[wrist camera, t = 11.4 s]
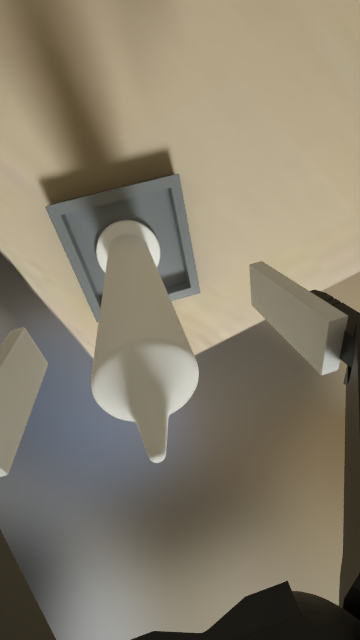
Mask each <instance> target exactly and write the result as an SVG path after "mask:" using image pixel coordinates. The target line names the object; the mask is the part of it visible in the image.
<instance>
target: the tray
mask: <svg viewBox="0 0 360 640" xmlns="http://www.w3.org/2000/svg"><path fill="white" fill-rule="evenodd" d="M45 208H46V210H47V212H48V214H49V217H50V219H51V221H52V223H53V225H54V228H55V230H56V232H57V234H58V237H59V239H60V241H61V243H62V246H63V248H64V250H65V252H66V254H67V257H68V259H69V261H70V263H71V266H72V268H73V270H74V272H75V275H76V277H77V279H78V281H79V283H80V286H81V288H82V290H83V292H84V295H85V297H86V299H87V301H88V304H89V306H90V308H91V310H92V312H93V315H94V317H95V319H96V321H97V322H99V317H100V309H101V302H102V295H103V287H104V280H105V272H104V271H103V270H102V268H101V267H100V265H99V262H98V260H97V255H96V246H97V242H98V239H99V236H100V235H101V233H102V232H103V230H104V229H105V228H106V227H108V226H109V225H110V224H112V223H114V222H117V221H121V220H133V221H137V222H140V223H142V224H143V225H145V226H147V227H148V228H149V229H150V230H151V231H152V232H153V233H154V235H155V236H156V238H157V240H158V243H159V246H160V261H159V264H158V266H157V269H158V272H159V274H160V276H161V279H162V281H163V284H164V286H165V288H166V291H167V293H168V295H169V298H170V300H171V301H173V300H177V299H180V298H184V297H187V296H191V295H195V294H198V293H200V288H199V282H198V277H197V271H196V266H195V260H194V255H193V249H192V244H191V238H190V233H189V227H188V221H187V216H186V210H185V205H184V199H183V194H182V188H181V183H180V177H179V174H172V175H168V176H164V177H160V178H156V179H152V180H148V181H144V182H140V183H136V184H132V185H128V186H124V187H119V188H115V189H111V190H107V191H103V192H99V193H95V194H91V195H87V196H83V197H79V198H75V199H71V200H67V201H62V202H58V203H54V204H51V205H48V206H46V207H45Z"/></svg>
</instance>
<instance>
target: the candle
mask: <svg viewBox="0 0 360 640" xmlns="http://www.w3.org/2000/svg"><path fill="white" fill-rule="evenodd" d="M96 255H97V260H98V262H99V265H100V267H101V268H102V270H103V271H104V272H105V280H104V287H103V295H102V302H101V309H100V317H99V324H98V331H97V339H96V346H95V354H94V361H93V369H92V376H91V387H92V393H93V396H94V398H95V400H96V401H97V403H98V404H99V405H100V406H101V407H102V408H103V409H104V410H105V411H106V412H107V413H109V414H110V415H112V416H114V417H116V418H119V419H122V420H126V421H134V422H135V423H136V424H137V426H138V429H139V431H140V434H141V437H142V439H143V442H144V445H145V448H146V450H147V453H148V455H149V458H150V460H151V461H152V462H154V463H159V462H161V461H163V460H164V458H165V456H166V445H167V429H168V418H169V415H170V414H172V413H173V412H175V411H177V410H178V409H179V408H181V407H182V406H183V405H184V404H185V403H186V402H187V401H188V400H189V399H190V397H191V396H192V394H193V392H194V391H195V389H196V386H197V383H198V377H199V371H198V365H197V361H196V359H195V357H194V354H193V352H192V350H191V347H190V345H189V342H188V340H187V338H186V335H185V333H184V331H183V328H182V326H181V324H180V321H179V319H178V317H177V314H176V312H175V309H174V307H173V305H172V302H171V300H170V298H169V295H168V293H167V291H166V288H165V286H164V284H163V281H162V279H161V276H160V274H159V272H158V269H157V266H158V264H159V261H160V246H159V243H158V240H157V238H156V236H155V235H154V233H153V232H152V231H151V230H150V229H149V228H148V227H147V226H145V225H143V224H142V223H140V222H137V221H133V220H121V221H117V222H114V223H112V224H110V225H109V226H108V227H106V228H105V229H104V230H103V232H102V233H101V235H100V236H99V239H98V242H97V246H96Z"/></svg>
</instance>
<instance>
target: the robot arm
mask: <svg viewBox="0 0 360 640" xmlns="http://www.w3.org/2000/svg"><path fill="white" fill-rule="evenodd" d="M250 284H251V302H252V306H253V307H254V308H255V309H256V310H257V311H258V312H259V313H260V314H261V315H262V316H263V317H264V318H265V319H266V320H267V321H268V322H269V323H270V324H271V325H272V326H273V327H274V328H275V329H276V330H277V331H278V332H279V333H280V334H281V335H282V336H283V337H284V338H285V339H286V340H287V341H288V342H289V343H290V344H291V345H292V346H293V347H294V348H295V349H296V350H297V351H298V352H299V353H300V354H301V355H302V356H303V357H304V358H305V359H306V360H307V361H308V362H309V363H310V364H311V365H312V366H313V367H314V368H315V369H316V370H317V371H318V372H319V373H320V374H321V375H324V374H327V373H330V372H333V371H337V370H338V368H339V363H340V359H341V360H342V361H343V362H345V363H346V364H347V369H346V374H345V379H344V384H346V409H345V410H346V412H345V414H346V415H345V472H344V530H343V531H344V532H343V535H344V536H343V558H342V565H341V573H340V590H339V606H338V605H336V604H334V603H332V602H330V601H328V600H326V599H324V598H322V597H319V596H316V595H313V594H309V593H304V592H299V591H291V588H290V586H289V583H288V581H286V582H283V583H281V584H278V585H275V586H273V587H270V588H267V589H265V590H262V591H260V592H257V593H254V594H251V595H249V596H246V597H245V598H244V599H242V600H241V601H240V602H239V603H238V604H237V605H235V606H234V607H233V608H232V609H231V610H230V611H229V612H228V613H226V614H225V615H224V616H223V617H222V618H221V619H220V620H219V621H217V622H216V623H215V624H214V625H213V626H212V627H211V628H210V629H208V630H207V631H205V632H203V633H182V632H161V631H153V632H150V633H147V634H145V635H142V636H139V637H137V638H134V639H131V640H360V313H359V312H357V311H355V310H354V309H352V308H350V307H348V306H347V305H345V304H344V303H341V302H340V301H338V300H337V299H334V298H333V297H332V296H330V295H328V294H327V293H324V292H321V291H317V290H312V291H308V290H307V289H305V288H303V287H302V286H300V285H299V284H297V283H295V282H294V281H292V280H291V279H289V278H288V277H286V276H284V275H283V274H281V273H280V272H278V271H276V270H275V269H273V268H272V267H270V266H268V265H267V264H265V263H264V262H262V261H261V262H257V263H254V264H250ZM47 366H48V363H47V361H46V360H45V358H44V357H43V355H42V353H41V352H40V350H39V349H38V347H37V346H36V344H35V343H34V341H33V340H32V338H31V336H30V335H29V333H28V332H27V330H26V329H25V327H23V328H19V329H16V330H12V331H10V332H9V334H8V335H7V337H6V338H5V340H4V341H3V343H2V344H1V346H0V477H2V476H5V475H8V473H9V471H10V468H11V465H12V462H13V460H14V457H15V454H16V451H17V449H18V446H19V443H20V440H21V438H22V435H23V432H24V429H25V426H26V424H27V421H28V418H29V416H30V413H31V410H32V407H33V404H34V401H35V399H36V396H37V394H38V391H39V388H40V385H41V382H42V380H43V377H44V374H45V371H46V369H47ZM0 640H56V639H55V637H54V635H53V633H52V631H51V629H50V627H49V625H48V623H47V621H46V619H45V617H44V615H43V613H42V611H41V609H40V607H39V605H38V603H37V601H36V599H35V597H34V595H33V593H32V591H31V589H30V588H29V585H28V584H27V581H26V579H25V577H24V575H23V573H22V571H21V570H20V567H19V565H18V564H17V562H16V560H15V558H14V556H13V554H12V552H11V550H10V548H9V546H8V544H7V542H6V540H5V538H4V536H3V534H2V532H1V530H0Z"/></svg>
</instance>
